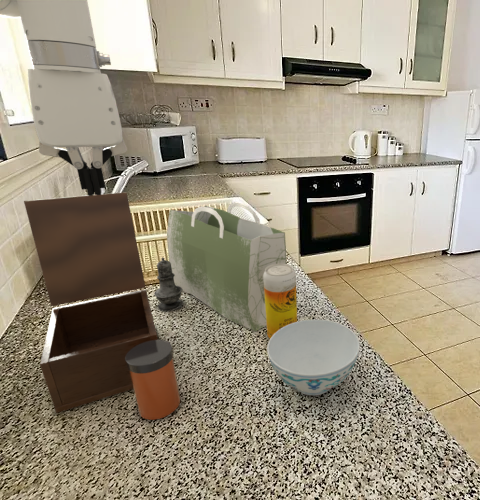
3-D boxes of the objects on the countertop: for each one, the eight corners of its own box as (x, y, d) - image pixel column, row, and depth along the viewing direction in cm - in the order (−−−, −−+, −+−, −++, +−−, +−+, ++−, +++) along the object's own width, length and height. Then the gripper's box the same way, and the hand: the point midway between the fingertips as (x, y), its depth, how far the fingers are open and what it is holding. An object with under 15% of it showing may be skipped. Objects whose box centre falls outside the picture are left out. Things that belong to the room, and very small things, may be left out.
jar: (129, 410, 57) (115, 356, 53) (164, 386, 62) (154, 335, 58) (155, 426, 54) (143, 370, 51) (190, 399, 59) (181, 347, 56)
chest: (165, 378, 64) (156, 334, 60) (56, 413, 56) (39, 364, 53) (153, 327, 78) (146, 289, 74) (65, 349, 70) (52, 308, 67)
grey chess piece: (150, 308, 85) (141, 259, 80) (171, 296, 90) (163, 250, 86) (170, 313, 83) (161, 264, 78) (190, 301, 88) (183, 254, 84)
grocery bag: (300, 306, 87) (297, 210, 79) (253, 332, 77) (244, 225, 68) (217, 270, 105) (207, 188, 96) (169, 287, 94) (154, 197, 86)
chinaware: (261, 365, 67) (259, 329, 65) (338, 347, 73) (339, 312, 70) (281, 427, 55) (279, 385, 52) (373, 399, 60) (375, 360, 57)
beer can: (284, 348, 72) (280, 278, 67) (261, 338, 75) (256, 270, 70) (303, 333, 77) (302, 267, 71) (281, 324, 80) (278, 260, 74)
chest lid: (126, 192, 70) (126, 192, 70) (23, 200, 62) (24, 200, 63) (145, 287, 74) (145, 286, 75) (51, 306, 66) (51, 305, 67)
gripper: (128, 66, 57) (147, 185, 64) (0, 57, 50) (37, 192, 57) (130, 63, 51) (151, 194, 58) (-15, 52, 44) (28, 204, 51)
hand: (95, 193), depth 57 cm, fingers closed
